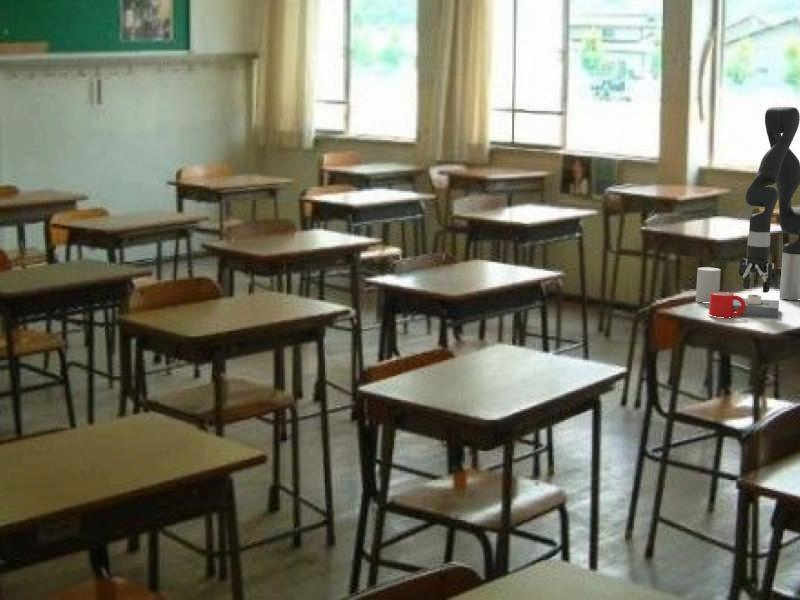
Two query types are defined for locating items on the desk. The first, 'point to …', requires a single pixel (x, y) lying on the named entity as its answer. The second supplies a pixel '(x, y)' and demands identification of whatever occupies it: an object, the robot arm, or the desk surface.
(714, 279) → the cup
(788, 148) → the robot arm
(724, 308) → the mug
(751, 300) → the bushing
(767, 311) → the block
